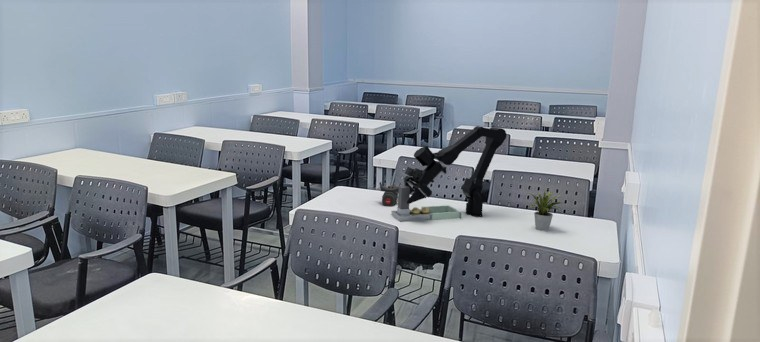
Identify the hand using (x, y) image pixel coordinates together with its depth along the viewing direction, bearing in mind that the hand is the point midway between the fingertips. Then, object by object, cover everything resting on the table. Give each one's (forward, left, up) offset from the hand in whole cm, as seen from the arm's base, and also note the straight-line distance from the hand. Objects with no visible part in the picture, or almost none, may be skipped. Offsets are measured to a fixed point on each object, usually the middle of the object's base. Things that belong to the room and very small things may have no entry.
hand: (403, 200), depth 222 cm
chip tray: (-16, -7, -8) cm, 19 cm away
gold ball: (-9, -4, -7) cm, 12 cm away
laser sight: (+8, -28, -8) cm, 31 cm away
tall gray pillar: (0, 0, -7) cm, 7 cm away
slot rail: (-9, -4, -8) cm, 13 cm away
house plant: (-55, +3, -8) cm, 56 cm away
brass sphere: (-5, -2, -7) cm, 9 cm away
